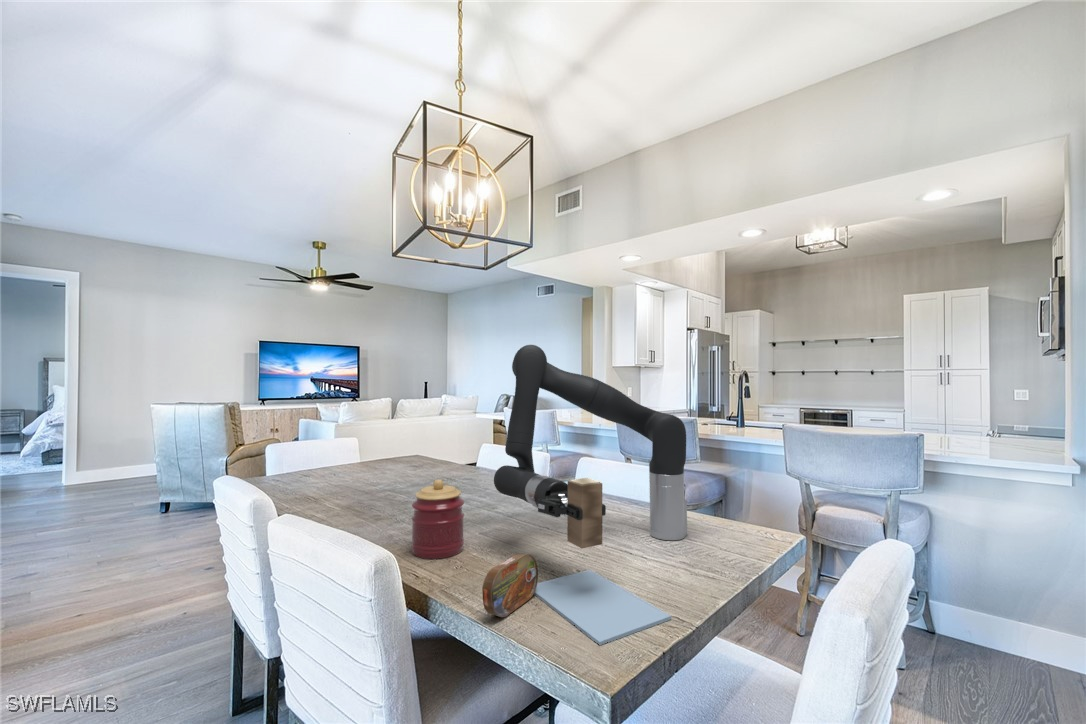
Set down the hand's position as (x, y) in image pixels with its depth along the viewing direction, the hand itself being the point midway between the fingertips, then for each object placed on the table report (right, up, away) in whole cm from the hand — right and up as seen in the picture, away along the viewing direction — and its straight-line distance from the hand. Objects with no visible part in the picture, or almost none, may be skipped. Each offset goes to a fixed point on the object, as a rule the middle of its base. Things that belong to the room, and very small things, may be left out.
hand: (592, 512), depth 91 cm
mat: (0, -16, -2) cm, 17 cm away
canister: (-36, -18, +26) cm, 48 cm away
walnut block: (-1, -7, +2) cm, 7 cm away
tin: (-16, -17, -4) cm, 23 cm away
